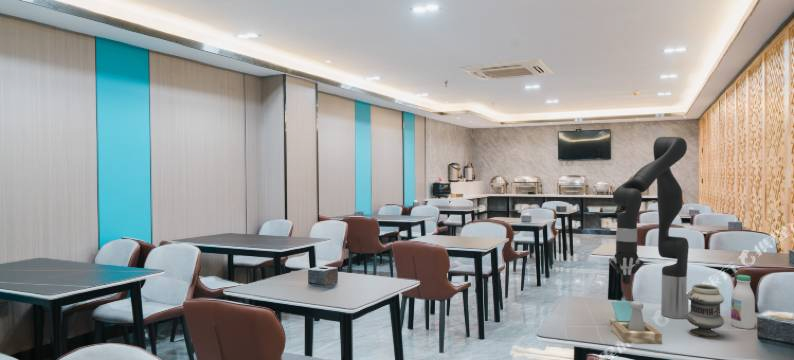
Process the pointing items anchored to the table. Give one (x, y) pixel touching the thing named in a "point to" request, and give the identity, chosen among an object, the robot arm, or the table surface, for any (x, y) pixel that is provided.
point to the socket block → (636, 333)
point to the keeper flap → (622, 310)
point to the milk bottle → (743, 304)
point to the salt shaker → (636, 317)
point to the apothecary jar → (705, 310)
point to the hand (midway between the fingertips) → (625, 284)
